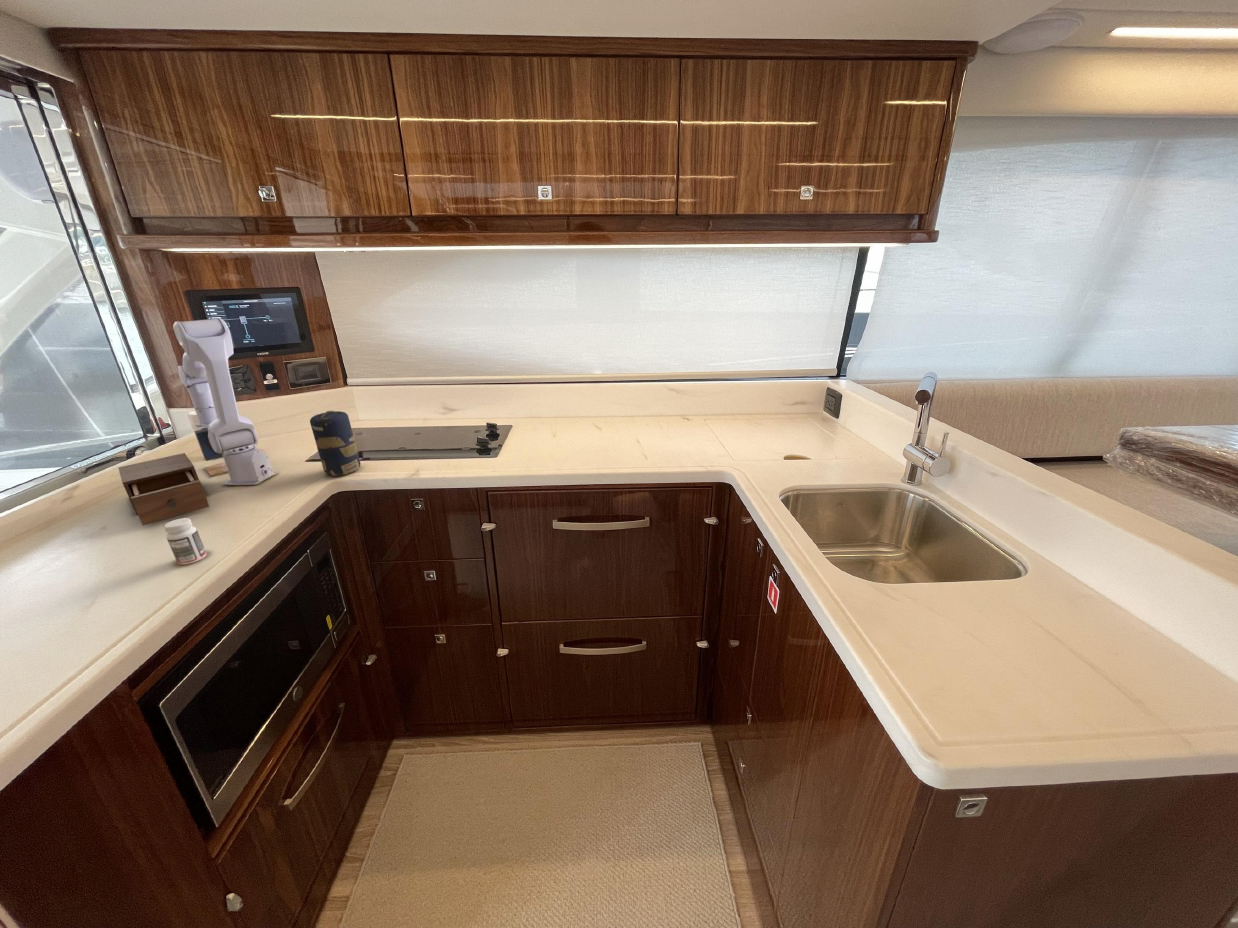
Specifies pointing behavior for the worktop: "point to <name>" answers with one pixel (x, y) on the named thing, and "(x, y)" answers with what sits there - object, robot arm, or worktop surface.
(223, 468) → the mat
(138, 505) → the drawer
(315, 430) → the canister
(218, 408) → the robot arm
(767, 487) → the worktop surface
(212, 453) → the book
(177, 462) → the wooden box
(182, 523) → the pill bottle
